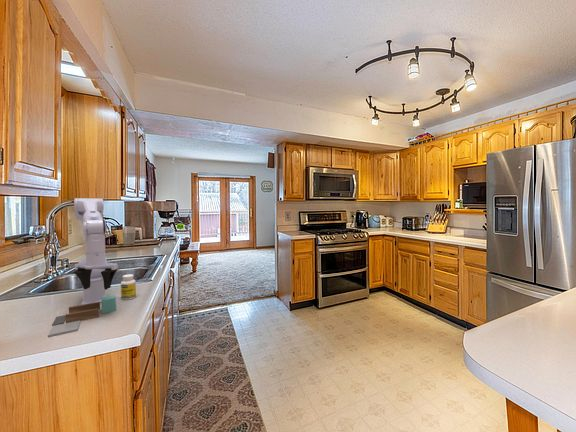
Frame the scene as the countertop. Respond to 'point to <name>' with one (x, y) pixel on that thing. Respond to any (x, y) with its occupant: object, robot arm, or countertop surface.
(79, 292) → the countertop surface
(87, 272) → the robot arm
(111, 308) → the block
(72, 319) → the channel
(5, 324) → the countertop surface
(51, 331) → the tile
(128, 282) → the supplement bottle
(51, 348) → the countertop surface
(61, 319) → the mat
